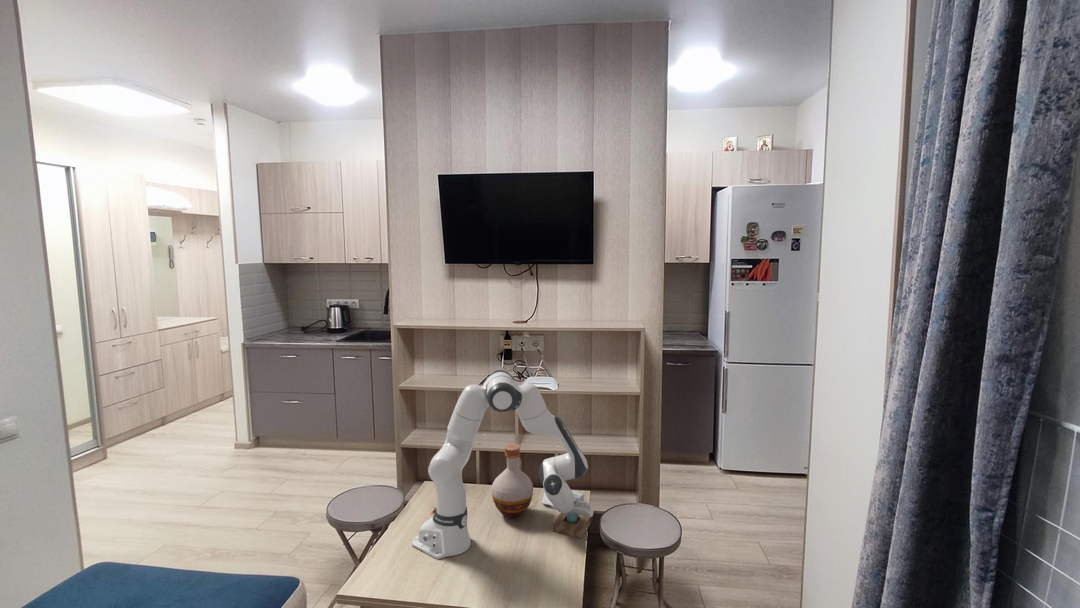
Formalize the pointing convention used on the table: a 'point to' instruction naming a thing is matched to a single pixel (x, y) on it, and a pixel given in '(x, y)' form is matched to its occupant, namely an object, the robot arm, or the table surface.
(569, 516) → the peg
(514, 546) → the table surface
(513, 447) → the jug
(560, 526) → the socket block
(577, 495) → the medicine box
